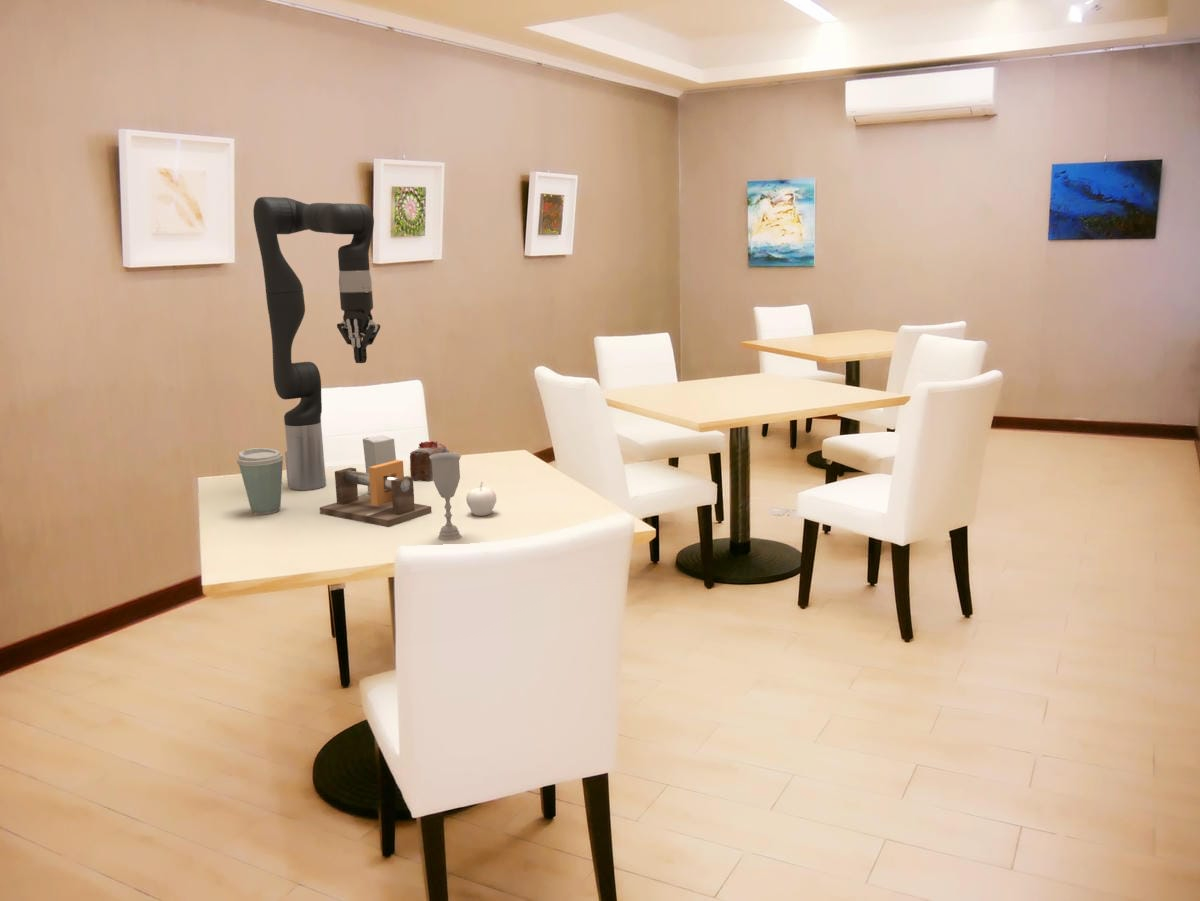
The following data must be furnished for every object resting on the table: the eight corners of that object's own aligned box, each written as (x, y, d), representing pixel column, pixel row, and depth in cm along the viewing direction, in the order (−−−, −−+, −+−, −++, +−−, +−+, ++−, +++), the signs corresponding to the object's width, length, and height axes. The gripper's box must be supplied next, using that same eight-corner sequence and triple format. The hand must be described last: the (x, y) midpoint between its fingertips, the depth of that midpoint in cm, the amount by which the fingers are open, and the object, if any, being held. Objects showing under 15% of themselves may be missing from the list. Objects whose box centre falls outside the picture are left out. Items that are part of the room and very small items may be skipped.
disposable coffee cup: (297, 507, 237) (292, 447, 234) (269, 519, 227) (263, 456, 224) (261, 504, 241) (255, 445, 237) (232, 516, 231) (226, 454, 228)
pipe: (338, 483, 234) (337, 470, 233) (348, 480, 236) (347, 467, 236) (400, 493, 222) (400, 480, 222) (410, 490, 225) (410, 477, 224)
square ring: (371, 504, 224) (368, 467, 223) (399, 496, 232) (396, 459, 230) (377, 506, 223) (374, 468, 221) (405, 497, 231) (402, 460, 229)
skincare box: (400, 495, 247) (396, 438, 244) (377, 499, 244) (373, 441, 241) (388, 489, 254) (384, 433, 251) (365, 492, 250) (361, 436, 247)
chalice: (435, 532, 213) (430, 453, 210) (466, 531, 214) (462, 452, 210) (432, 542, 206) (427, 460, 203) (464, 541, 207) (460, 459, 203)
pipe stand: (320, 513, 231) (317, 474, 229) (363, 500, 243) (361, 463, 241) (388, 526, 219) (386, 486, 217) (431, 512, 230) (429, 473, 228)
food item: (425, 470, 276) (423, 436, 274) (452, 470, 275) (450, 436, 273) (408, 481, 263) (405, 445, 261) (436, 481, 261) (434, 446, 259)
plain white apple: (473, 519, 223) (471, 486, 222) (463, 512, 230) (461, 480, 228) (501, 515, 227) (500, 482, 225) (490, 508, 233) (489, 476, 231)
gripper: (324, 290, 230) (330, 363, 233) (363, 291, 223) (368, 365, 226) (348, 289, 236) (353, 360, 240) (387, 289, 229) (391, 362, 232)
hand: (360, 362), depth 233 cm, fingers closed
